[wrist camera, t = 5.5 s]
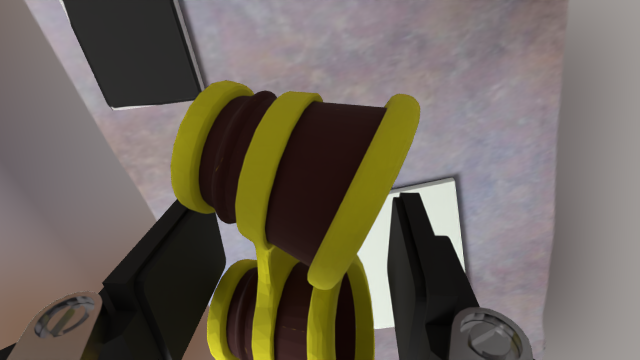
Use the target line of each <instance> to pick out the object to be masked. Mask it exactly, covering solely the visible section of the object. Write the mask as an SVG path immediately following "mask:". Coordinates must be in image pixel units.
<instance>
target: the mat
mask: <svg viewBox="0 0 640 360" xmlns="http://www.w3.org/2000/svg"><path fill="white" fill-rule="evenodd" d="M400 192H409V193H419V194H420V196H421V199H422V201H423V204H424V207H425V209H426V212H427V215H428V217H429V220H430V223H431V225H432V228H433V231H434V233H435V235H444V236H448V237H449V238H450V240H451V242H452V244H453V246H454V249H455V251H456V253H457V256H458V258H459V260H460V262H461V265H462V267H463V269H464V272H465V267H464V258H463V249H462V241H461V232H460V223H459V214H458V206H457V197H456V188H455V181H454V179H453V178H448V179H443V180H438V181H433V182H428V183H423V184H418V185H414V186H409V187H404V188H399V189H394V190H390V192H389V194H388V196H387V198H386V201H385V203H384V205H383V207H382V209H381V211H380V213H379V215H378V216H377V218H376V220H375V222H374V224H373V226H372V228H371V230H370V231H369V233H368V235H367V237H366V239H365V241H364V243H363V245H362V246H361V248H360V250H359V251H358V253H357V255H358V256H359V258H360V260H361V262H362V263H363V266H364V269H365V273H366V276H367V280H368V284H369V289H370V294H371V300H372V309H373V318H374V329H380V328H388V327H395V325H394V318H393V311H392V304H391V297H390V290H389V282H388V275H387V257H388V246H389V234H390V223H391V211H392V200H393V197H399V194H400ZM355 318H356V317H355Z"/></svg>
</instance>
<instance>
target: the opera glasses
mask: <svg viewBox="0 0 640 360" xmlns="http://www.w3.org/2000/svg"><path fill="white" fill-rule="evenodd" d="M419 119H420V106H419V103H418V102H417V101H416V99H415V98H414V97H412V96H410V95H405V94H396V95H394V96H392V97H391V98H390V100H389V101H388V102H387V104H386V105H385V107H372V106H360V105H348V104H337V103H325V102H323V100H322V98H321V96H320V95H319V94H318V93H306V92H293V91H289V92H286V93H284V94H282V95H281V96H280V97H278V98H277V97H276V96H275V94H274V93H272V92H270V91H261V92H258V93H256V94H255V95H254V93H253V91H252V90H251V89H249V88H248V87H247V86H245V85H243V84H240V83H237V82H233V81H227V80H225V81H220V82H216V83H212V84H211V85H210V86H208V87H207V88H206V89H205V90H203V91H202V92H201V93H200V94H199V95H198V96H197V98H196V99H195V100H194V102H193V103H192V104H191V106H190V107H189V109H188V111H187V113H186V115H185V117H184V119H183V121H182V122H181V124H180V127H179V130H178V133H177V136H176V140H175V143H174V147H173V153H172V160H171V182H172V187H173V190H174V194H175V196H176V198H177V199H178V200H179V202H180V203H181V204H182V205H184V206H185V207H187V208H188V209H191V210H194V211H197V212H200V213H205V214H209V213H214V212H216V213H217V215H218V217H219V219H220V220H221V221H223V222H225V223H227V224H232V223H237V227H238V230H239V232H240V233H241V234H242V235H243V236H244V237H246V238H247V239H249V240H250V241H252V242H253V243H254V245H255V248H256V255H257V260H251V259H244V260H240V261H237V262H236V263H234V264H233V265H231V266H230V267H229V269H228V270H227V271H226V273H225V274H224V275H223V276H222V278H221V280H220V282H219V284H218V286H217V288H216V290H215V292H214V295H213V298H212V301H211V305H210V310H209V315H208V320H207V323H208V324H207V341H208V344H209V348H210V352H211V354H212V355H213V356H214V358H215V359H216V360H374V357H375V338H374V318H373V309H372V300H371V294H370V289H369V284H368V280H367V276H366V273H365V269H364V266H363V263H362V262H361V260H360V258H359V256H358V255H357V253H358V251H359V250H360V248H361V246H362V245H363V243H364V241H365V239H366V237H367V235H368V233H369V231H370V230H371V228H372V226H373V224H374V222H375V220H376V218H377V216H378V215H379V213H380V211H381V209H382V207H383V205H384V203H385V201H386V198H387V196H388V194H389V192H390V190H391V188H392V186H393V184H394V182H395V180H396V178H397V176H398V174H399V171H400V169H401V167H402V165H403V162H404V160H405V158H406V156H407V153H408V151H409V149H410V147H411V144H412V141H413V138H414V135H415V133H416V130H417V127H418V124H419ZM355 317H356V318H355Z"/></svg>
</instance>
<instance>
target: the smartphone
mask: <svg viewBox="0 0 640 360" xmlns="http://www.w3.org/2000/svg"><path fill="white" fill-rule="evenodd" d="M59 1H60V3H61V5H62V7H63V9H64V11H65V14H66V16H67V18H68V20H69V22H70V24H71V27H72V29H73V31H74V33H75V35H76V37H77V39H78V42H79V44H80V46H81V48H82V50H83V52H84V55H85V57H86V59H87V61H88V63H89V65H90V68H91V70H92V72H93V74H94V76H95V78H96V81H97V83H98V85H99V87H100V89H101V91H102V94H103V96H104V98H105V100H106V102H107V104H108V105H109V107H110V108H111V109H112V110H115V111H117V110H124V109H132V108H140V107H147V106H155V105H163V104H170V103H178V102H186V101H193V100H195V99H196V98H197V96H198V95H199V94H200V93H201V92H202V91H203V90H205V88H204V84H203V81H202V78H201V75H200V71H199V68H198V65H197V61H196V58H195V55H194V52H193V48H192V45H191V42H190V38H189V35H188V32H187V29H186V25H185V22H184V19H183V15H182V12H181V9H180V6H179V2H178V0H59Z"/></svg>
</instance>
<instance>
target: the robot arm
mask: <svg viewBox="0 0 640 360" xmlns="http://www.w3.org/2000/svg"><path fill="white" fill-rule="evenodd" d="M225 265H226V257H225V252H224V248H223V244H222V239H221V235H220V230H219V226H218V222H217V217H216V213H215V212H214V213H209V214H205V213H200V212H197V211H194V210H191V209H188V208H187V207H185V206H184V205H182V204H181V203H180V202H179V200H178V199H177V200H176V201H175V202H174V203H173V204H172V205H171V206H170V208H169V209H168V210H167V211H166V212H165V213H164V214H163V215H162V217H161V218H160V219H159V220H158V221H157V222H156V223H155V224H154V225H153V227H152V228H151V229H150V230H149V231H148V232H147V233H146V235H145V236H144V237H143V238H142V239H141V240H140V241H139V242H138V244H137V245H136V246H135V247H134V248H133V249H132V250H131V251H130V252H129V253H128V255H127V256H126V257H125V258H124V259H123V260H122V261H121V262H120V264H119V265H118V266H117V267H116V268H115V269H114V270H113V271H112V272H111V274H110V275H109V276H108V277H107V278H106V279H105V280H104V281H103V285H104V288H103V289H102V290H101V291H100V292H99V293H98V294H97V293H95V292H90V291H83V292H76V293H73V294H70V295H66V296H64V297H62V298H60V299H58V300H56V301H54V302H52V303H51V304H49V305H48V306H46V307H45V308H43V309H42V310H41V311H40V312H39V313H38V314H36V316H35V317H34V318H33V319H32V320H31V322H30V323H29V324H28V326H27V327H26V329H25V331H24V332H23V334H22V336H21V337H20V339H19V341H18V342H17V343H15V344H13V345H11V346H8V347H6V348H4V349H2V350H0V360H181V359H182V357H183V355H184V353H185V351H186V349H187V347H188V345H189V343H190V341H191V338H192V336H193V334H194V332H195V330H196V328H197V326H198V324H199V321H200V319H201V317H202V315H203V313H204V311H205V309H206V307H207V305H208V303H209V301H210V298H211V296H212V294H213V292H214V290H215V288H216V286H217V284H218V282H219V279H220V277H221V275H222V273H223V271H224V269H225ZM387 275H388V282H389V290H390V297H391V304H392V311H393V318H394V325H395V332H396V339H397V346H398V353H399V360H535V359H533V354H532V348H531V345H530V342H529V339H528V338H527V336H526V335H525V333H524V332H523V330H522V329H521V328H520V327H519V326H518V325H517V324H516V323H515V322H513V321H512V320H511V319H509V318H508V317H506V316H504V315H503V314H501V313H499V312H496V311H494V310H491V309H487V308H481V307H480V306H479V304H478V302H477V299H476V297H475V295H474V292H473V290H472V288H471V286H470V283H469V281H468V279H467V276H466V274H465V272H464V269H463V267H462V265H461V262H460V260H459V258H458V256H457V253H456V251H455V249H454V246H453V244H452V242H451V240H450V238H449V237H448V236H444V235H435V233H434V231H433V228H432V225H431V223H430V220H429V217H428V215H427V212H426V209H425V207H424V204H423V201H422V199H421V196H420V194H419V193H409V192H400V194H399V197H393V200H392V211H391V223H390V234H389V246H388V257H387Z"/></svg>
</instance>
